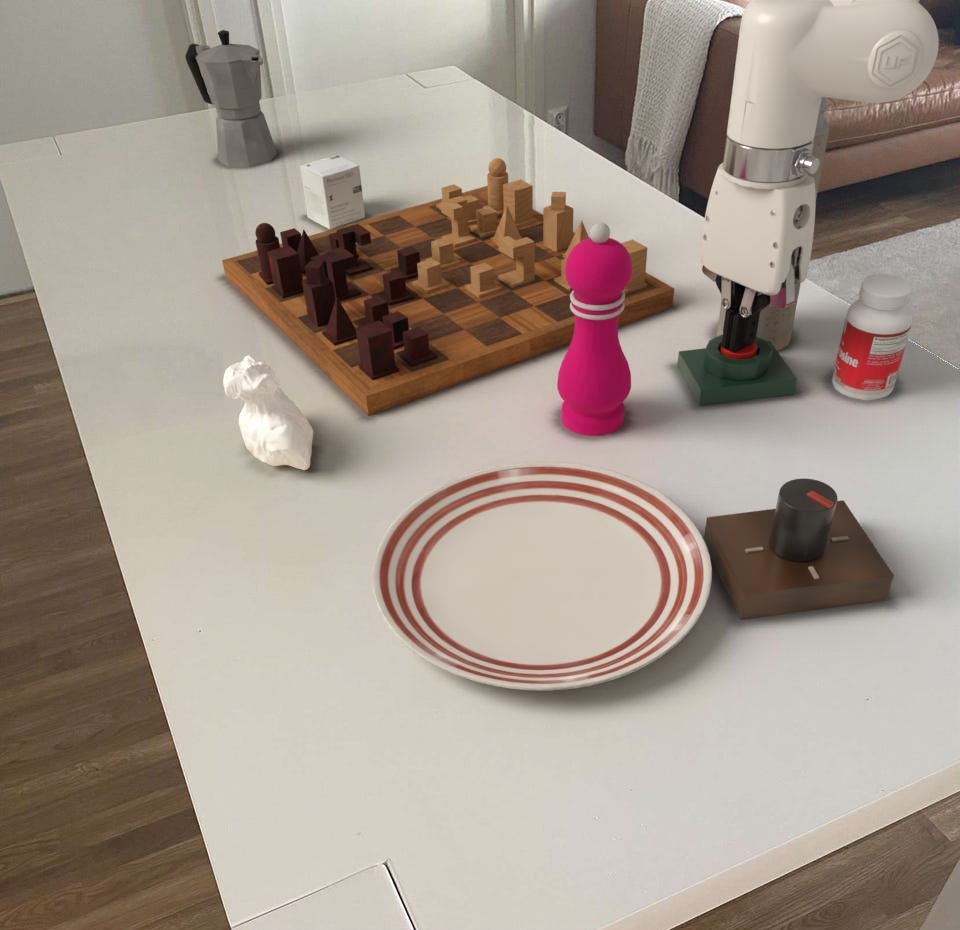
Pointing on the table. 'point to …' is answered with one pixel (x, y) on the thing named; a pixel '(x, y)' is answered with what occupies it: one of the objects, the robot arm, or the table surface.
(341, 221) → the white cardboard box
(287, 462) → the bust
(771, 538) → the knob
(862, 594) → the panel
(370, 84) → the table surface
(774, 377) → the housing
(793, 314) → the thermos bottle
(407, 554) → the dinner plate
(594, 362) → the pepper mill
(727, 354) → the button
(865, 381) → the pill bottle
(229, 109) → the coffeepot
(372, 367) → the gameboard
